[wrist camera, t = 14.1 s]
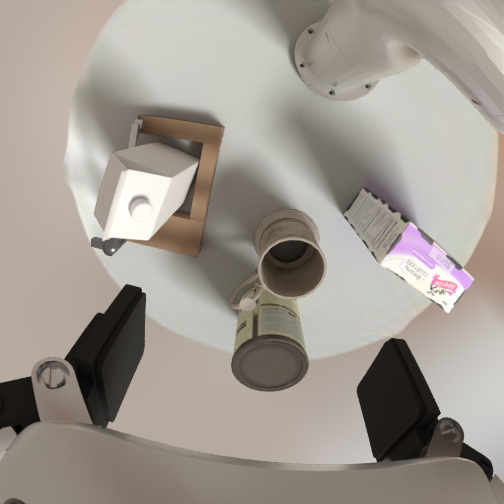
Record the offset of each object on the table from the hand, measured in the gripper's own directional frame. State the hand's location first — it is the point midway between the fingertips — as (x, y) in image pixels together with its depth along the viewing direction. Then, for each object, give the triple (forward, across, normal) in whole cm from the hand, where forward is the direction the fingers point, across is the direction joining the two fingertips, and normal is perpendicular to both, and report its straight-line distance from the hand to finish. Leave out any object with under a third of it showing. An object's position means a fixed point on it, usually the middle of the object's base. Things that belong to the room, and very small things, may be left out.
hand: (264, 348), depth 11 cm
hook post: (+32, +18, +11) cm, 38 cm away
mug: (+34, -4, +10) cm, 36 cm away
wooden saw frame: (+34, +13, +4) cm, 37 cm away
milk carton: (+34, +13, +2) cm, 37 cm away
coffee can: (+34, -6, +21) cm, 41 cm away
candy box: (+34, -20, +2) cm, 40 cm away
